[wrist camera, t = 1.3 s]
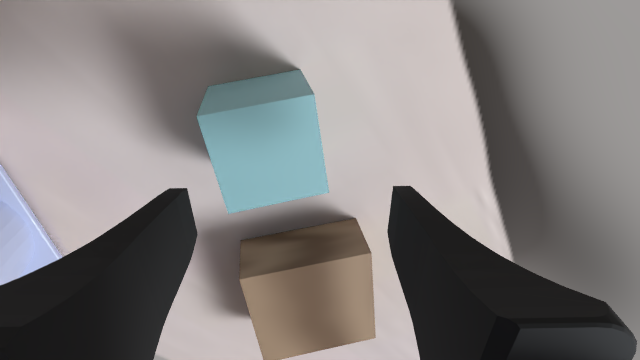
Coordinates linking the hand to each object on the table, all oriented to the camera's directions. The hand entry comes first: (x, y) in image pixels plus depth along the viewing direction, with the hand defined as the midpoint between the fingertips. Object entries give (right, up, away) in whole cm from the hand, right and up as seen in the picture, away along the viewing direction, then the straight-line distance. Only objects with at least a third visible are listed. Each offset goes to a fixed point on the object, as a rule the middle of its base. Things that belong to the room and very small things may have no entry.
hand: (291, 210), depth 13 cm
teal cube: (-2, +4, +8) cm, 9 cm away
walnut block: (0, -6, +14) cm, 15 cm away
